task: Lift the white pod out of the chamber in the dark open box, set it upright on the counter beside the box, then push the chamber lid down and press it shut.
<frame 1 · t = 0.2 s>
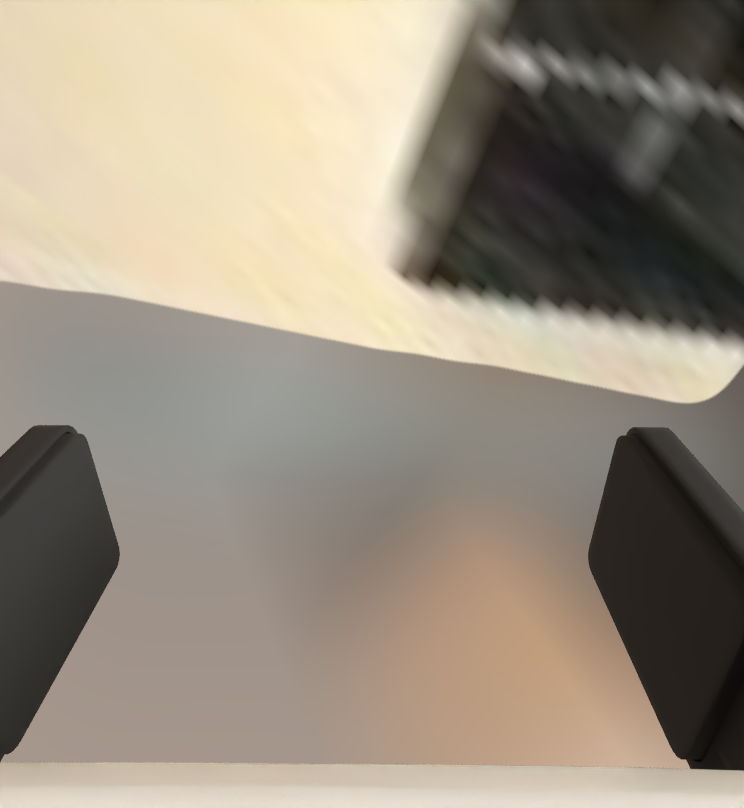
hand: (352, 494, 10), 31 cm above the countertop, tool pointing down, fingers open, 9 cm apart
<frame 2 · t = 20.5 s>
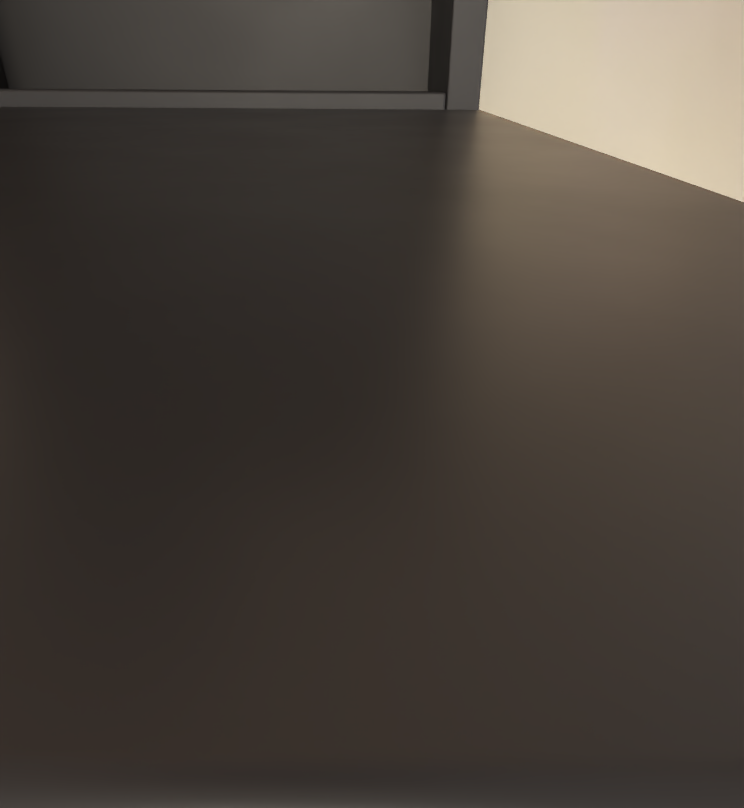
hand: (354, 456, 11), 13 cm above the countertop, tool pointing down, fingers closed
chamber lid: (7, 314, 8), point 14 cm above the countertop, hinge at 91.9°, touching gripper
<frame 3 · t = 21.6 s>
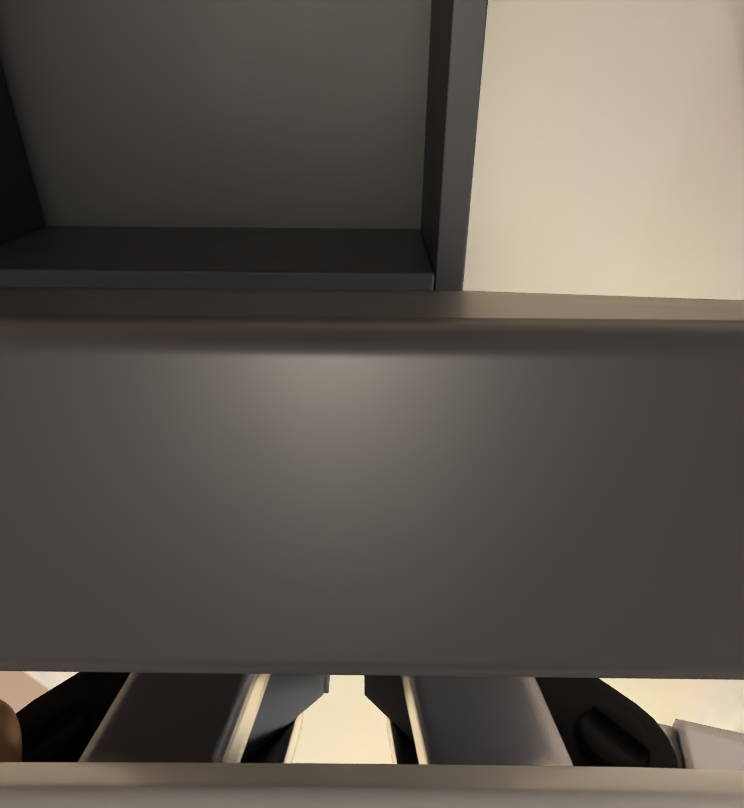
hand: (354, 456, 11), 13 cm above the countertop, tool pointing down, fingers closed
dark open box: (217, 36, 18), on the countertop
chamber lid: (33, 440, 9), point 15 cm above the countertop, hinge at 73.0°, touching gripper
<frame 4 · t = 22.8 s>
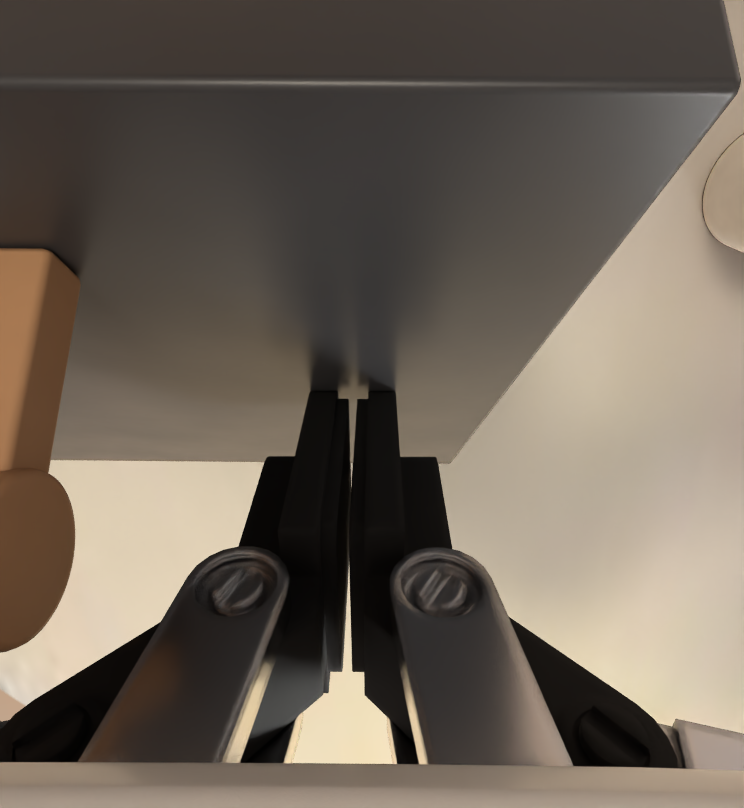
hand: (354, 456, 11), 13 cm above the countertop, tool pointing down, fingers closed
chamber lid: (83, 472, 10), point 14 cm above the countertop, hinge at 45.0°
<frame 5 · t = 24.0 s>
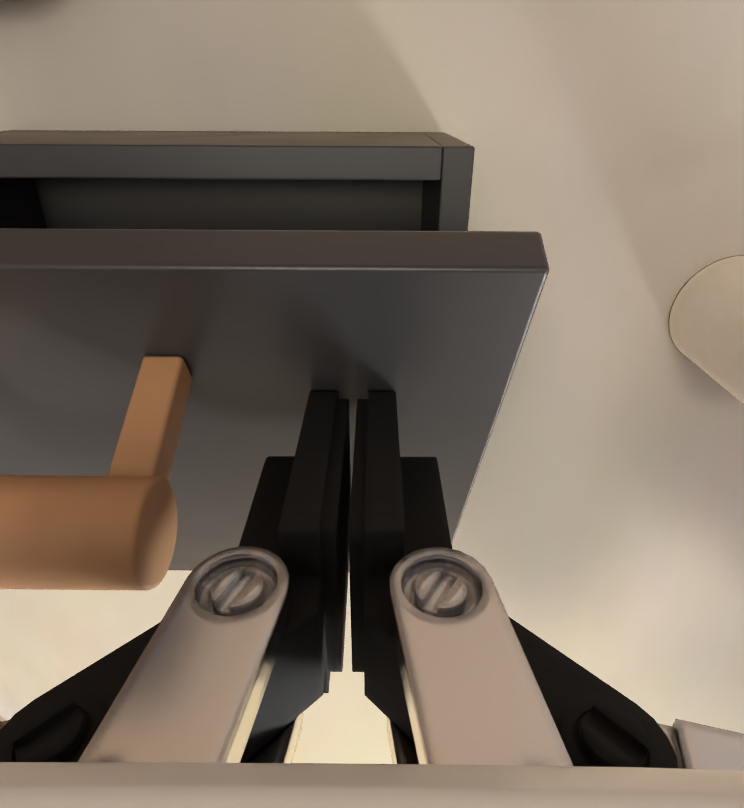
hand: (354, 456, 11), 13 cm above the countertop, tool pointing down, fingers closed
dark open box: (247, 312, 23), on the countertop
chamber lid: (145, 543, 13), point 12 cm above the countertop, hinge at 27.7°, touching gripper
white pod: (726, 310, 23), on the countertop
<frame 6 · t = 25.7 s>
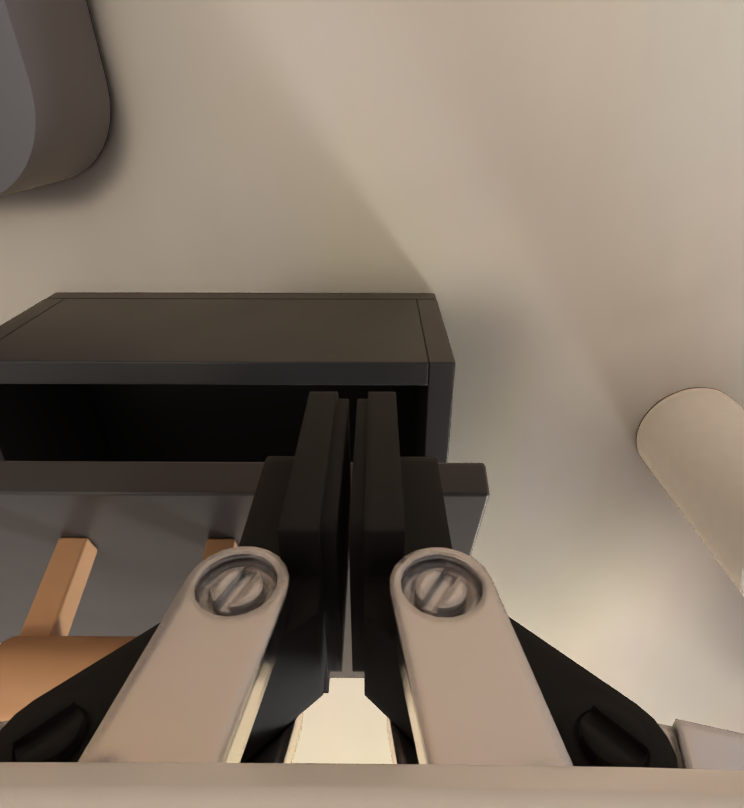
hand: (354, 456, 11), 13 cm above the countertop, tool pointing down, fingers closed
dark open box: (260, 433, 26), on the countertop
chamber lid: (189, 666, 16), point 12 cm above the countertop, hinge at 20.8°, touching gripper
white pod: (686, 431, 26), on the countertop
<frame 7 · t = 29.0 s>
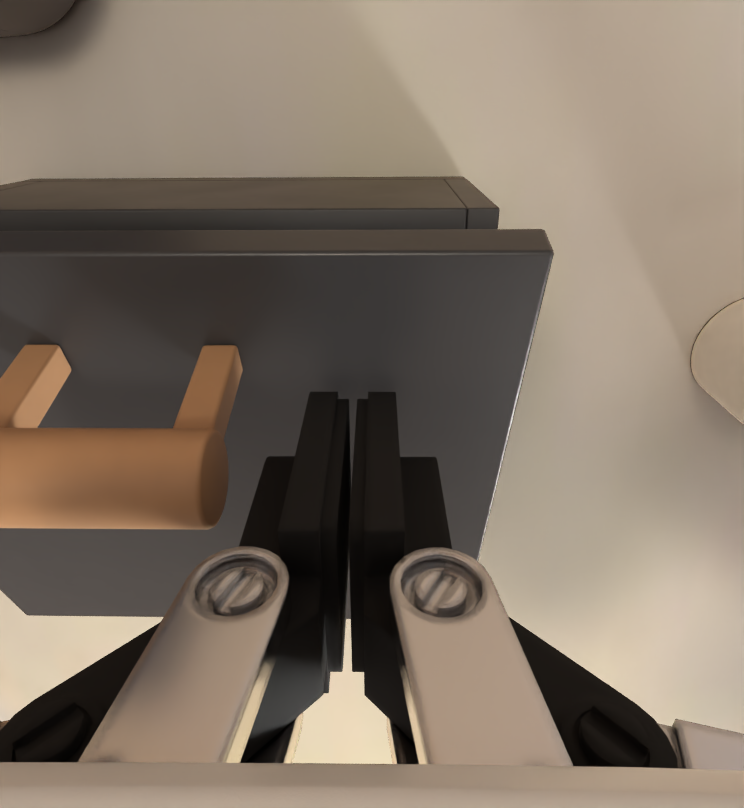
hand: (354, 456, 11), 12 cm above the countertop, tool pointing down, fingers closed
dark open box: (265, 352, 23), on the countertop
chamber lid: (180, 550, 13), point 11 cm above the countertop, hinge at 16.5°, touching gripper
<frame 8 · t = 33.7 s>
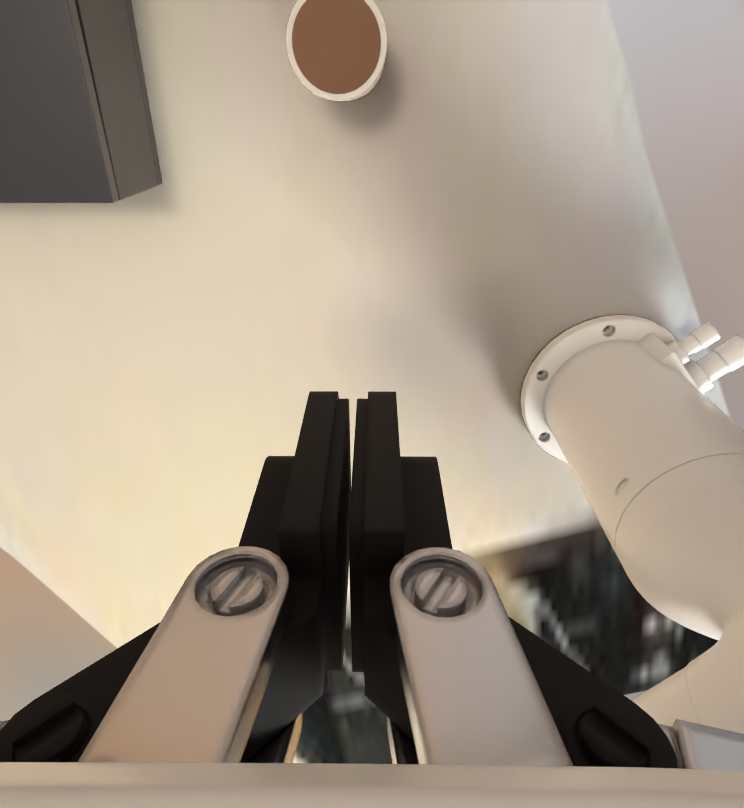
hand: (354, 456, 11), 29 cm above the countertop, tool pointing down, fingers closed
dark open box: (10, 60, 33), on the countertop
white pod: (345, 55, 32), on the countertop
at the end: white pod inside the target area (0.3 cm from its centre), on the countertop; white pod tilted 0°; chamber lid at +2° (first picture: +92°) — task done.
